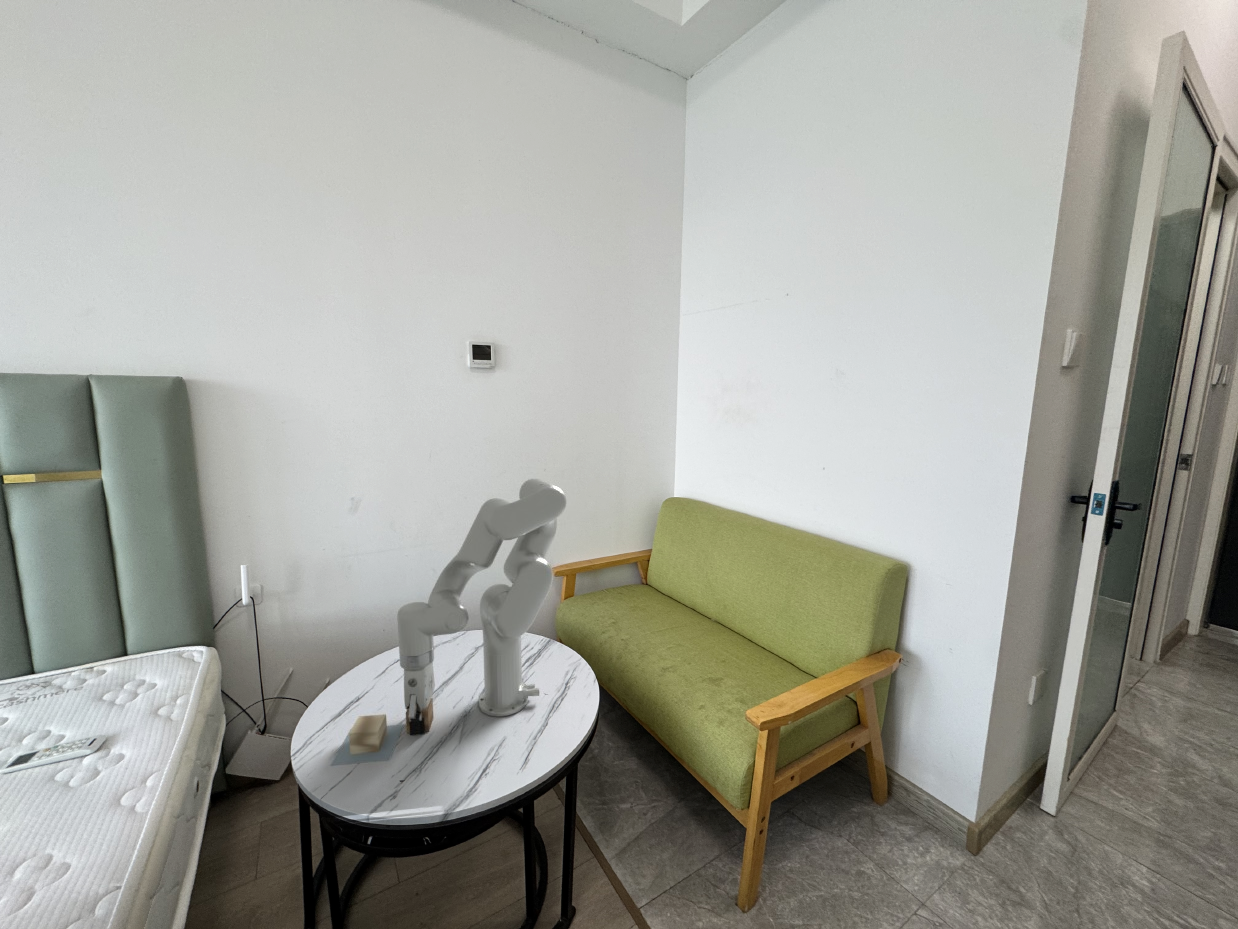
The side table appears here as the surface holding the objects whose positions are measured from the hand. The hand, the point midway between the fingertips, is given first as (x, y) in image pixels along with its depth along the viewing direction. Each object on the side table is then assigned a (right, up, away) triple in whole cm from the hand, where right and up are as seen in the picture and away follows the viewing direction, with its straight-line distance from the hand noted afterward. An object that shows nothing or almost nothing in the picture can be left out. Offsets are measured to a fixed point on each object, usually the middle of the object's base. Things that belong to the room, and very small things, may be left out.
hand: (420, 725), depth 121 cm
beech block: (-9, -1, -6) cm, 11 cm away
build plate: (-9, -1, -6) cm, 11 cm away
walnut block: (0, -1, 0) cm, 1 cm away
